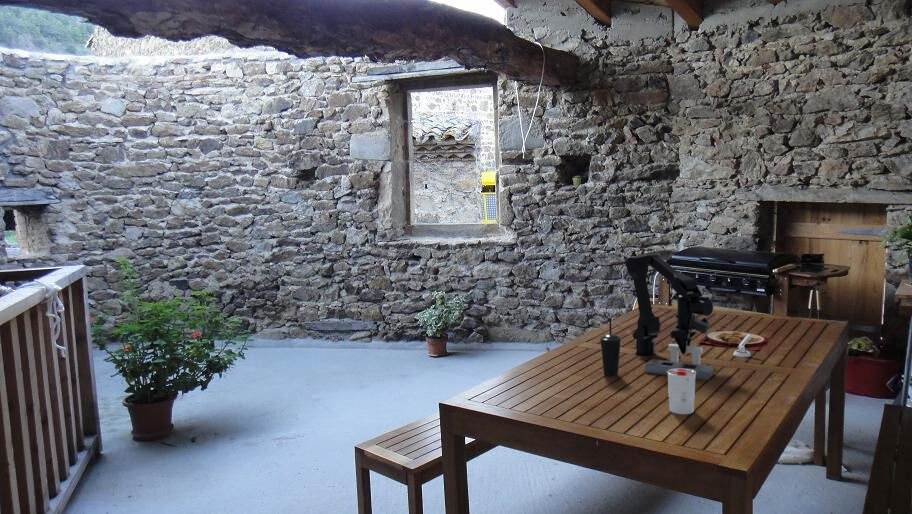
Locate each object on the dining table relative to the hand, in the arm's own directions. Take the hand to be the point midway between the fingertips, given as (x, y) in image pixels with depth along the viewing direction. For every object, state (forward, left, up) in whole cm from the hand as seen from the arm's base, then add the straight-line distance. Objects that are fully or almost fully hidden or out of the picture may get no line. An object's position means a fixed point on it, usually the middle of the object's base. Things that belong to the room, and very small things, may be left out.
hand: (685, 352), depth 251 cm
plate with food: (+10, +46, -5) cm, 47 cm away
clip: (0, 0, -4) cm, 4 cm away
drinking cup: (-20, -25, -5) cm, 32 cm away
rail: (+1, -13, -4) cm, 14 cm away
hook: (+16, +23, -5) cm, 28 cm away
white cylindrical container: (+12, -52, -5) cm, 54 cm away
